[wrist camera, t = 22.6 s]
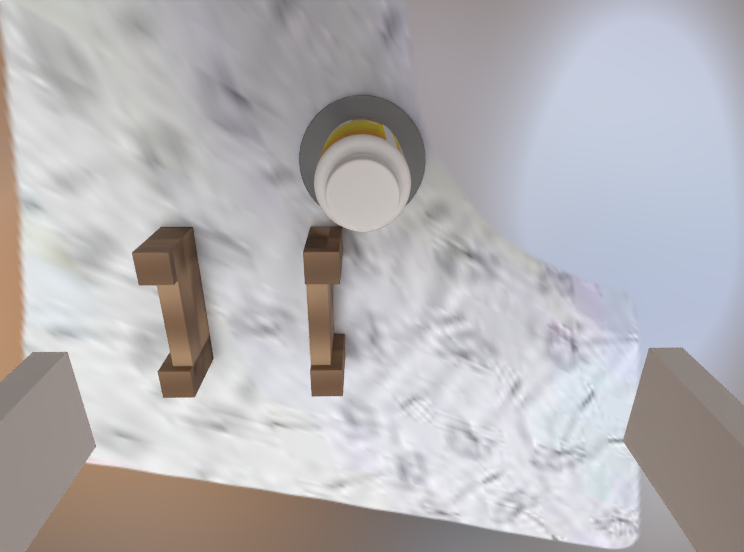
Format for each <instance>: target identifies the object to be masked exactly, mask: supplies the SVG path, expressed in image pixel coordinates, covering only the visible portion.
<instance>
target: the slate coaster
mask: <svg viewBox="0 0 744 552" xmlns="http://www.w3.org/2000/svg"><path fill="white" fill-rule="evenodd" d="M356 118H367V119H372V120H375V121H378V122H380V123H382V124H383V125H385V126H386V127H387V128H389V129H390V130H391V131H392V133H393V134H394V135H395V137H396V138H397V140H398V142H399V144H400V147H401V149H402V152H403V154H404V157H405V159H406V162H407V165H408V167H409V171H410V176H411V190H410V195H409V198H408V201H407V203H406V205H407V204H408V203H409V202H410V201H411V199H412V198H413V197H414V195H415V194H416V192H417V190H418V188H419V186H420V184H421V181H422V178H423V174H424V170H425V151H424V145H423V142H422V138H421V136H420V134H419V131H418V129H417V128H416V126H415V124H414V123H413V121H412V120H411V119H410V118H409V116H408V115H407V114H406V113H405V112H403V111H402V110H401V109H400V108H399V107H397V106H396V105H394V104H392V103H390V102H389V101H387V100H384V99H381V98H378V97H373V96H364V95H360V96H351V97H346V98H343V99H340V100H337V101H335V102H334V103H332V104H330V105H328V106H327V107H326V108H324V109H323V110H322V111H321V112H320V113H319V114H317V115H316V117H315V118H314V119H313V120H312V122H311V123H310V125H309V126H308V128H307V130H306V132H305V134H304V137H303V139H302V143H301V146H300V154H299V164H300V172H301V176H302V179H303V182H304V184H305V187H306V189H307V190H308V192H309V194H310V195H311V197H312V198H313V199H314V201H315V202H316V203H317V204H318V205H319V203H318V201H317V198H316V194H315V189H314V177H315V171H316V168H317V164H318V162H319V159H320V156H321V153H322V151H323V148H324V145H325V142H326V140H327V138H328V137H329V135H330V134H331V133H332V131H333V130H334V129H335V128H337V127H338V126H339V125H341V124H342V123H344V122H346V121H348V120H351V119H356ZM406 205H405V206H406ZM319 206H320V205H319Z"/></svg>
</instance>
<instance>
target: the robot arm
mask: <svg viewBox="0 0 744 552" xmlns="http://www.w3.org/2000/svg"><path fill="white" fill-rule="evenodd" d="M623 442H624V443H625V445H626V446H627V448H628V449H629V451H630V452H631V454H632V455H633V457H634V458H635V460H636V461H637V463H638V464H639V466H640V467H641V469H642V470H643V472H644V473H645V475H646V476H647V478H648V479H649V481H650V482H651V484H652V485H653V487H654V488H655V490H656V491H657V493H658V494H659V496H660V497H661V499H662V500H663V502H664V503H665V505H666V506H667V508H668V509H669V510H670V512H671V514H672V515H673V517H674V518H675V520H676V521H677V523H678V524H679V526H680V527H681V529H682V530H683V532H684V533H685V535H686V537H687V538H688V539H689V541H690V542H691V544H692V546H693V547H694V549H695V550H696V552H744V405H743V404H742V403H741V402H740V401H739V400H738V399H737V398H736V397H735V396H734V395H732V394H731V393H730V392H729V391H728V390H727V389H726V388H725V387H724V386H723V385H722V384H721V383H720V382H718V381H717V380H716V379H715V378H714V377H713V376H712V375H711V374H710V373H709V372H708V371H707V370H705V369H704V367H702V366H701V365H700V364H699V363H698V362H697V361H696V360H695V359H694V358H693V357H692V356H691V355H689V353H687V352H686V351H685V350H684V349H683V348H649V351H648V354H647V358H646V361H645V364H644V368H643V371H642V375H641V379H640V382H639V386H638V389H637V393H636V396H635V400H634V403H633V407H632V411H631V414H630V418H629V421H628V425H627V428H626V432H625V435H624V439H623ZM95 447H96V445H95V441H94V438H93V435H92V431H91V428H90V425H89V421H88V418H87V415H86V412H85V408H84V405H83V402H82V398H81V395H80V392H79V388H78V385H77V382H76V379H75V375H74V372H73V369H72V365H71V362H70V359H69V356H68V352H33V353H31V354H30V355H29V356H28V357H27V358H26V359H25V360H24V361H23V362H22V363H21V364H20V365H18V366H17V367H16V368H15V369H14V370H13V371H12V372H11V373H10V374H9V375H7V376H6V377H5V378H4V379H3V380H2V381H1V382H0V552H25V551H26V550H27V548H28V547H29V545H30V544H31V542H32V541H33V539H34V538H35V536H36V535H37V533H38V532H39V530H40V529H41V527H42V526H43V524H44V523H45V521H46V520H47V518H48V517H49V515H50V514H51V512H52V511H53V509H54V508H55V506H56V505H57V504H58V502H59V500H60V499H61V498H62V496H63V495H64V493H65V492H66V490H67V489H68V487H69V486H70V484H71V483H72V481H73V480H74V478H75V477H76V475H77V474H78V472H79V471H80V469H81V468H82V466H83V465H84V463H85V462H86V460H87V459H88V457H89V456H90V454H91V453H92V451H93V450H94V448H95Z"/></svg>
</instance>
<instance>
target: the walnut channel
mask: <svg viewBox="0 0 744 552" xmlns="http://www.w3.org/2000/svg"><path fill="white" fill-rule="evenodd" d="M132 255H133V260H134V265H135V269H136V274H137V278H138V283H139V285H157V288H158V293H159V298H160V303H161V308H162V313H163V318H164V323H165V328H166V333H167V338H168V343H169V348H170V353H169V355H168V356H167V358H166V360H165V361H164V363H163V364H162V366H161V367H160V369H159V371H158V375H159V380H160V385H161V389H162V394H163V398H175V397H195V396H196V394H197V392H198V389H199V387H200V385H201V383H202V381H203V379H204V377H205V375H206V373H207V371H208V369H209V367H210V365H211V363H212V360H213V353H212V347H211V341H210V334H209V328H208V322H207V315H206V309H205V303H204V296H203V290H202V284H201V277H200V271H199V265H198V258H197V252H196V246H195V239H194V233H193V227H161V228H160V229H158V230H157V231H156V232H155V233H154V234H153V235H152V236H150V237H149V238H148V239H147V240H146V241H145V242H144V243H143V244H141V245H140V246H139V247H138V248H137V249H136V250H135V251H133V252H132ZM342 257H343V250H342V227H310V231H309V234H308V237H307V241H306V244H305V248H304V251H303V258H304V275H305V284H306V286H307V303H308V320H309V337H310V354H311V369H310V375H311V391H312V396H343V385H344V368H345V334H334V322H333V293H332V284H340V277H341V267H342Z"/></svg>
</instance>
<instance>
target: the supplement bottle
mask: <svg viewBox="0 0 744 552" xmlns="http://www.w3.org/2000/svg"><path fill="white" fill-rule="evenodd" d="M314 189H315V194H316V198H317V201H318V203H319V205H320V207H321V208H322V210H323V211H324V213H325V214H326V215H327V216H328V217H329V218H330V219H331V220H332V221H334V222H335V223H336V224H338V225H340V226H342V227H344V228H347V229H349V230H352V231H357V232H368V231H373V230H376V229H378V228H381V227H383V226H385V225H387V224H389V223H390V222H391V221H393V220H394V219H395V218H396V217H397V216H398V215H399V214H400V213H401V212H402V210H403V209H404V207H405V205H406V203H407V201H408V198H409V195H410V190H411V176H410V171H409V167H408V165H407V162H406V159H405V157H404V154H403V152H402V149H401V147H400V144H399V142H398V140H397V138H396V137H395V135H394V134H393V133H392V131H391V130H390V129H389V128H387V127H386V126H385V125H383V124H382V123H380V122H378V121H375V120H372V119H367V118H356V119H351V120H348V121H346V122H344V123H342V124H341V125H339V126H338V127H337V128H335V129H334V130H333V131H332V133H331V134H330V135H329V137H328V138H327V140H326V142H325V145H324V148H323V151H322V153H321V156H320V159H319V162H318V164H317V168H316V171H315V177H314Z"/></svg>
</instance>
